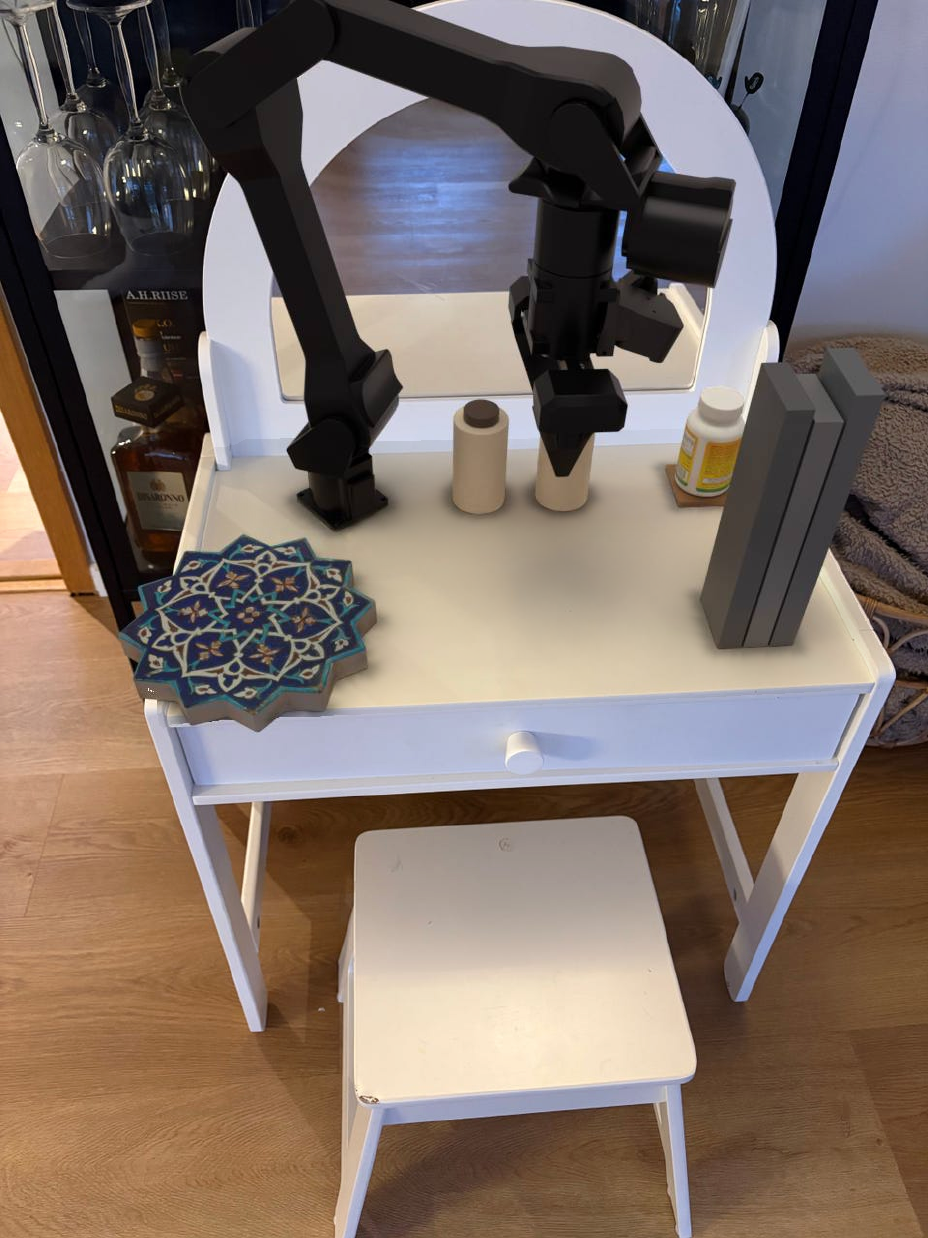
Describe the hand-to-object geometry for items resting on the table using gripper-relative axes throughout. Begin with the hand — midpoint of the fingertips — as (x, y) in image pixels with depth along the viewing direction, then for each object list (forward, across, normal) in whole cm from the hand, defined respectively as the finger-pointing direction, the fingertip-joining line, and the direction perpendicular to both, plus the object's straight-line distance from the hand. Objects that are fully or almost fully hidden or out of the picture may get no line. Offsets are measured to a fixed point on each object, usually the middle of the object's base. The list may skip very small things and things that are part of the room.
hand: (552, 441), depth 81 cm
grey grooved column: (+12, -10, -16) cm, 22 cm away
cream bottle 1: (+12, +8, +5) cm, 15 cm away
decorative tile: (+12, -9, +25) cm, 30 cm away
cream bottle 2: (+12, +8, -3) cm, 14 cm away
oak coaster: (+12, +8, -17) cm, 22 cm away
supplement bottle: (+11, +8, -17) cm, 22 cm away
